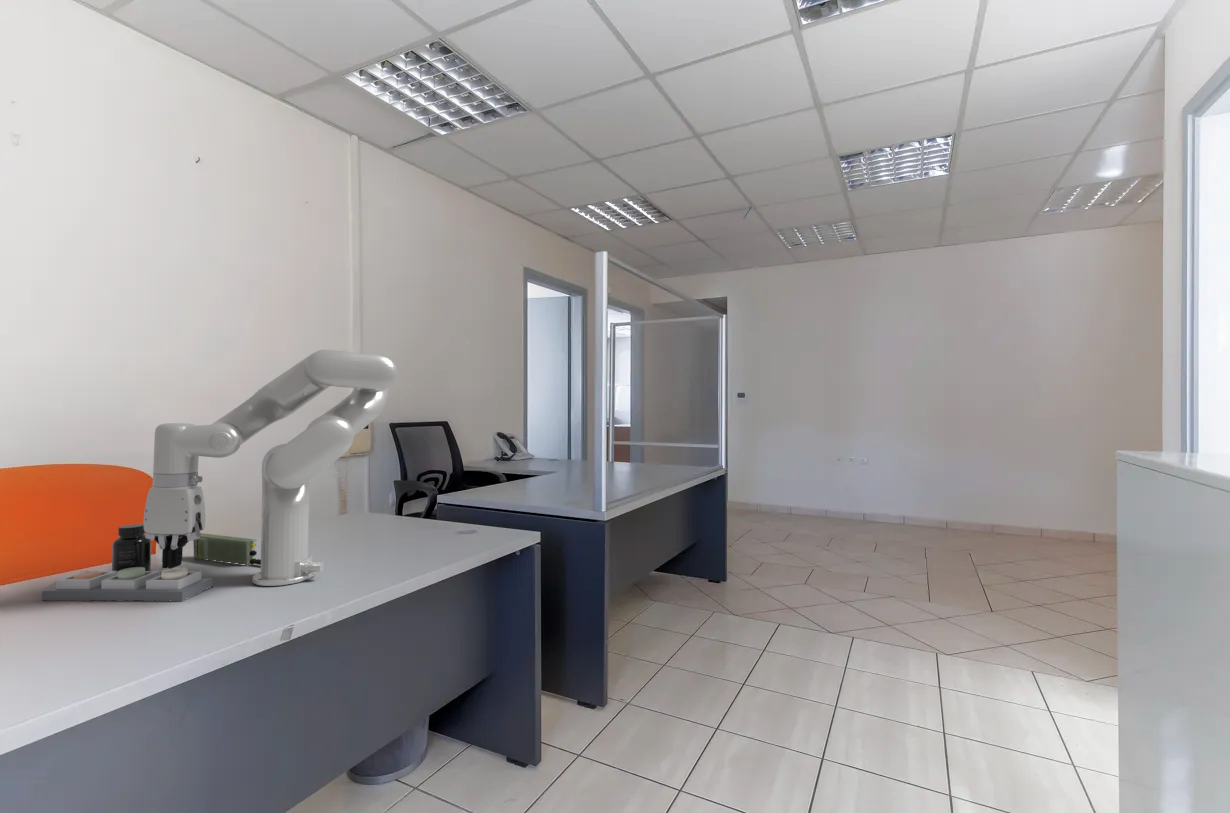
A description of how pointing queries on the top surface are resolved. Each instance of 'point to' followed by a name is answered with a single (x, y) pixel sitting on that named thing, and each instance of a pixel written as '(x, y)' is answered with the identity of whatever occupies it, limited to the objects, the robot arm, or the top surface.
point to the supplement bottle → (131, 548)
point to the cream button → (174, 573)
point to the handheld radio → (226, 549)
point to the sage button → (131, 573)
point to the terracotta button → (87, 575)
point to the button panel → (127, 587)
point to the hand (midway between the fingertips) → (171, 566)
